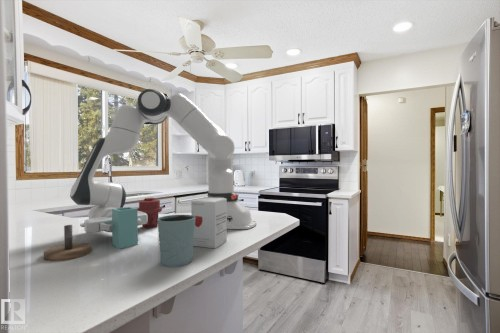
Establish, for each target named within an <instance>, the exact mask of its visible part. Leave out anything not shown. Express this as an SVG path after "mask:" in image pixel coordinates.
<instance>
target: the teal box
mask: <svg viewBox="0 0 500 333" xmlns="http://www.w3.org/2000/svg"><path fill="white" fill-rule="evenodd" d="M137 209H138V208H136V207H132V206H123V208H115V209H112V225H113V227H112V228H113V230H112V232H111V234H112V236H111V237H112V238H111V239H112V243H111V244H112V246H113V247H116V248H117V249H122V248H123V249H124V248H128V247H133V246H137V245H139V238H138V236H139V234H138V233H139V232H138V230H139V229H138V227H139V226H138V217H137Z"/></svg>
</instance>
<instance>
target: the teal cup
mask: <svg viewBox="0 0 500 333" xmlns="http://www.w3.org/2000/svg"><path fill="white" fill-rule="evenodd" d="M157 222H158V227H157V230H158V231H157V232H158V242H159V252H160V254H159V256H160V257H159V258H160V263H161V265H162V266H163V267H168V268H176V267H183V266H187V265H189V264H191V263H192V262H193V259H194V247H195V246H194V228H195V216H192V214H171V215H163V216H159V217H158V219H157Z"/></svg>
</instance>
